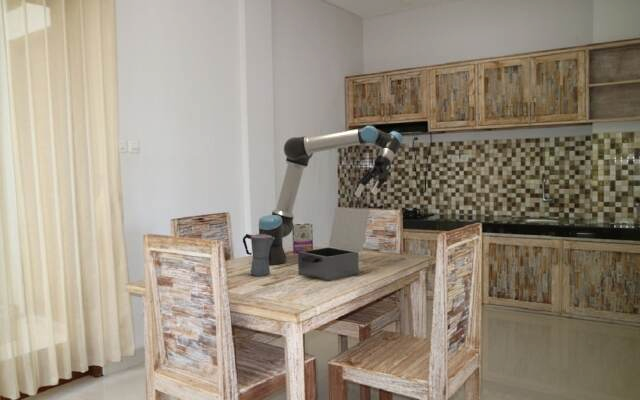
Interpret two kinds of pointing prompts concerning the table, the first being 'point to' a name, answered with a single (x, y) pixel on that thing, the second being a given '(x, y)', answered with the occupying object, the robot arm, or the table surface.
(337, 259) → the dark grey storage box
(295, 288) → the table surface
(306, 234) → the candy bar box
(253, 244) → the moka pot
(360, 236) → the grey box lid
